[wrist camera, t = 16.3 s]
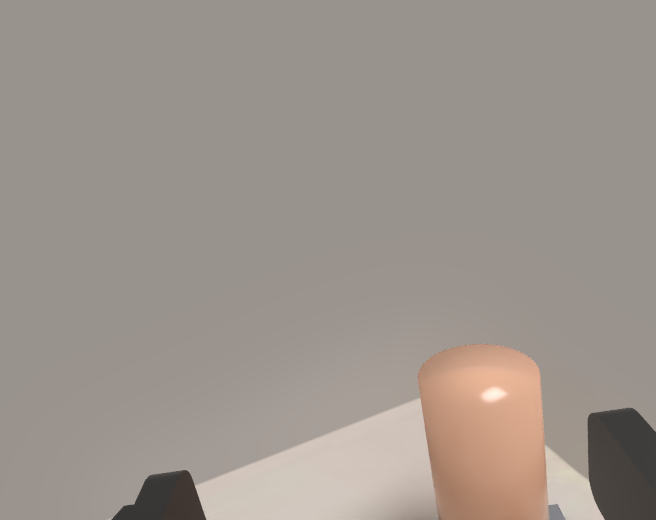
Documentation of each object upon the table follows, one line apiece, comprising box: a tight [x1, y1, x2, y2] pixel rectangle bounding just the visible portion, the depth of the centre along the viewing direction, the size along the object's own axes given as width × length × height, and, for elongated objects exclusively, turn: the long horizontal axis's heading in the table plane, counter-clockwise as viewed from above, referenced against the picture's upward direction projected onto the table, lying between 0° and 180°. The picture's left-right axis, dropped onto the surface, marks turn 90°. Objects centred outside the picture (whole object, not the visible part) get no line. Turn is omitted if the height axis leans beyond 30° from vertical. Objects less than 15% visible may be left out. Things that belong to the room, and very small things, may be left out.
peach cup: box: [418, 344, 549, 520], centre depth 32 cm, size 9×6×16 cm
